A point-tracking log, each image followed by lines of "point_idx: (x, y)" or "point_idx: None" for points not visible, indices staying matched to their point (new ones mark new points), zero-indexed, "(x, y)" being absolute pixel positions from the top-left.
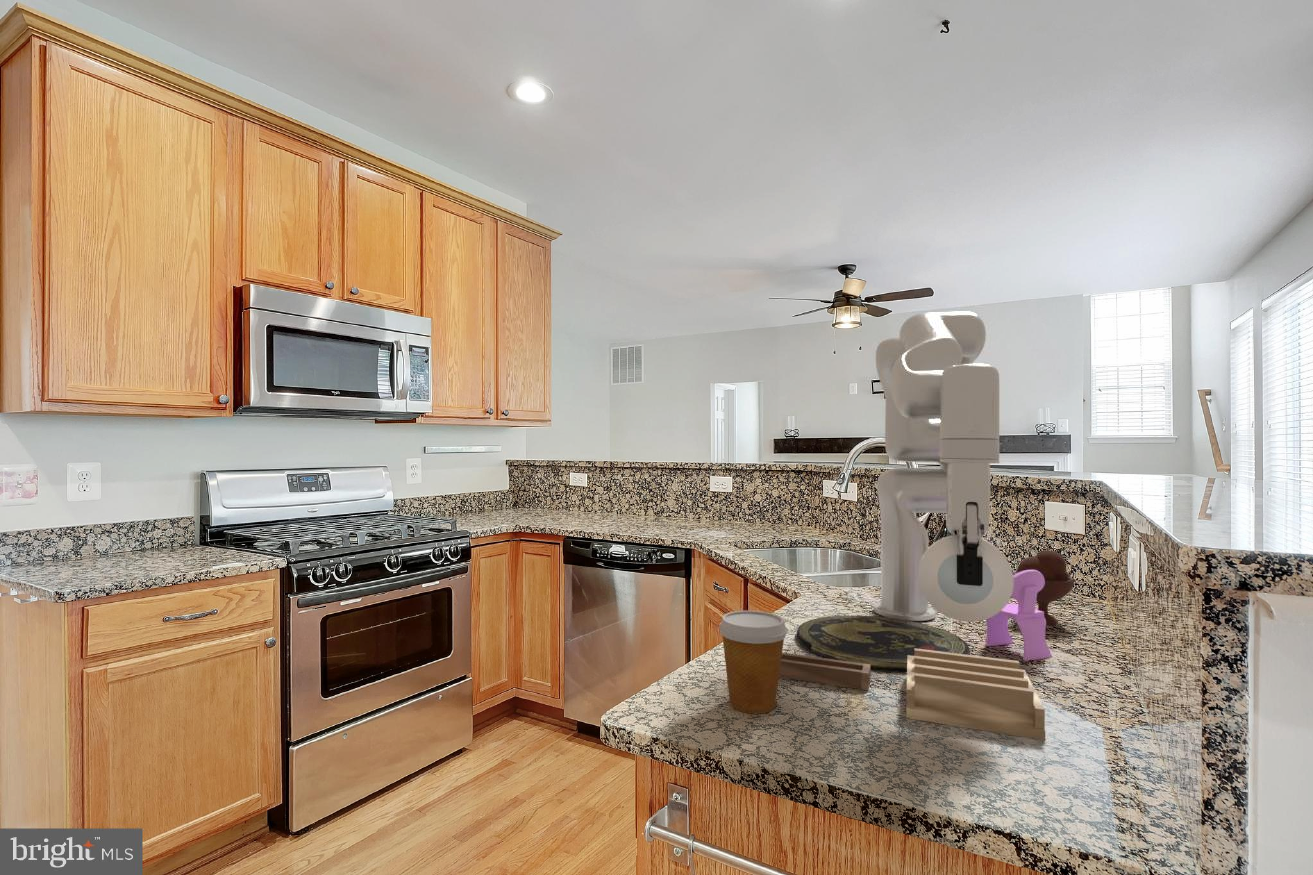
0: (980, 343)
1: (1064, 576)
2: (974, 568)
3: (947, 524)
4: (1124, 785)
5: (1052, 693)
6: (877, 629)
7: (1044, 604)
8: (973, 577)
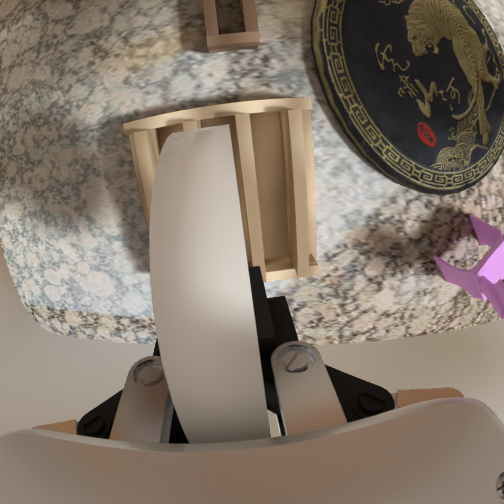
0: None
1: None
2: None
3: (111, 486)
4: (114, 322)
5: (328, 284)
6: (468, 70)
7: None
8: None
